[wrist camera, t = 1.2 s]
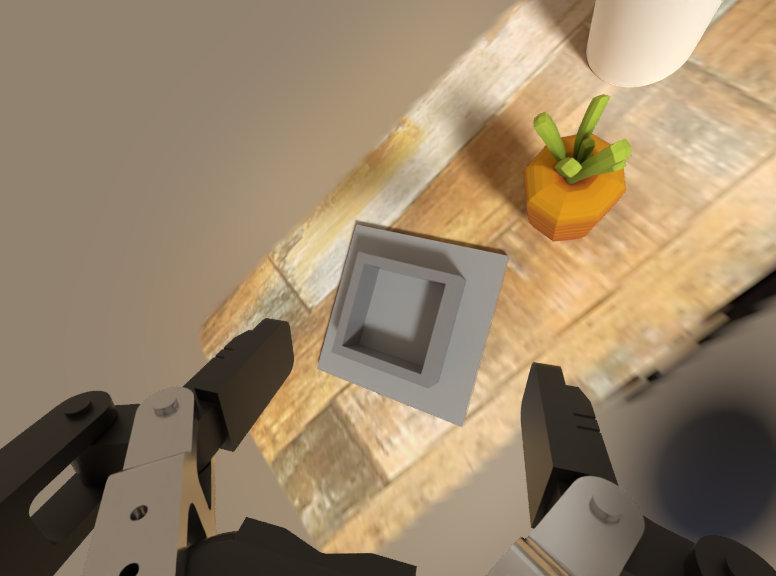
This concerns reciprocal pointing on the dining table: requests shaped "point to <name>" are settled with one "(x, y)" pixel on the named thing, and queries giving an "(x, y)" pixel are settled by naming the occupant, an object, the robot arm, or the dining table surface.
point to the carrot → (574, 177)
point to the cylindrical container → (645, 38)
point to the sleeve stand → (413, 319)
